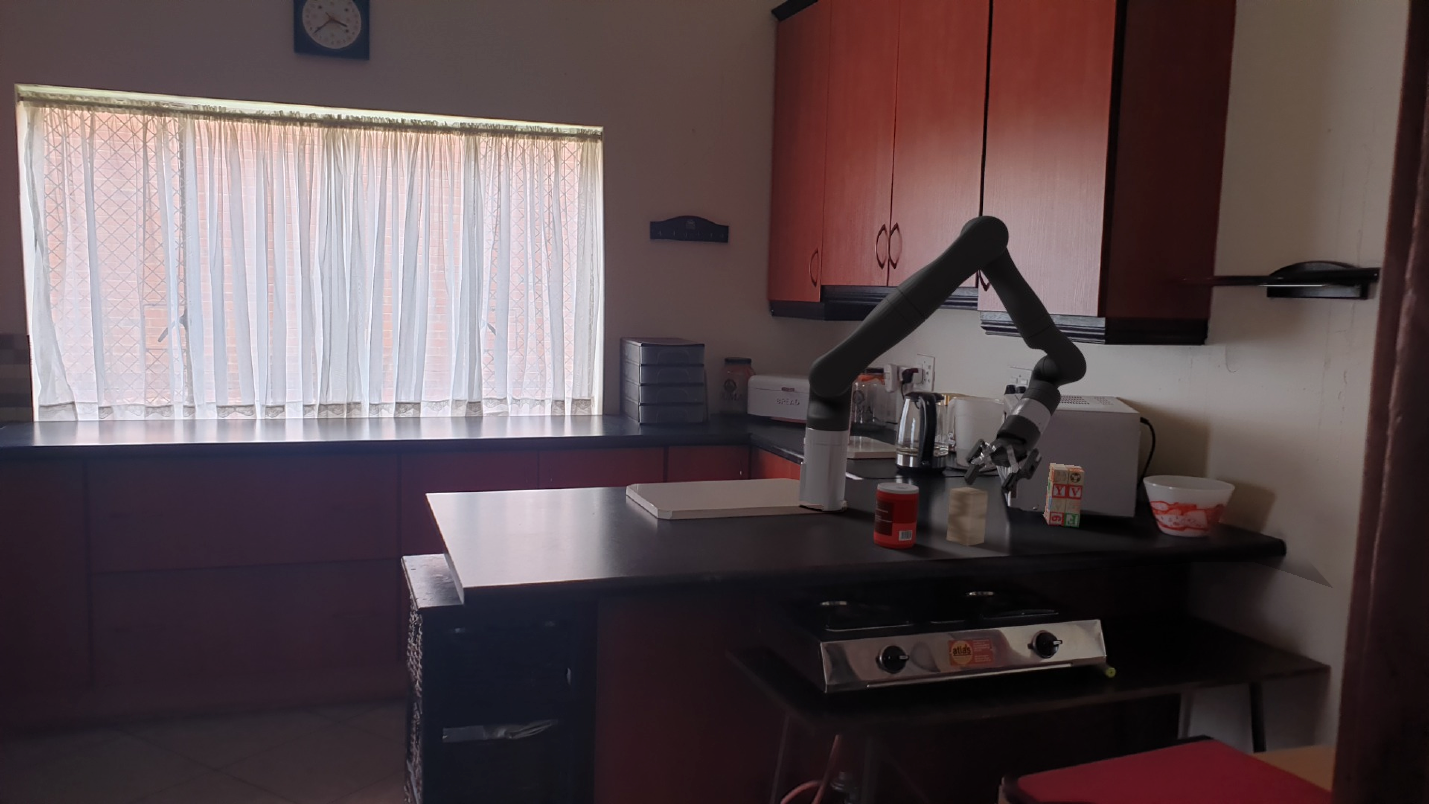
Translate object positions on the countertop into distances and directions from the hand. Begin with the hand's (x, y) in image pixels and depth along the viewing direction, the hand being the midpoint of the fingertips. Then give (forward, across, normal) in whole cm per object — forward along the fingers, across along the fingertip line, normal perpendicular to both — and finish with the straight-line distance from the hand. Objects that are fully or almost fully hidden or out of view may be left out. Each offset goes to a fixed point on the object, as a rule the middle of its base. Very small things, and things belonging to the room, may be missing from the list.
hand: (985, 486), depth 194 cm
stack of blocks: (-17, -4, +32) cm, 36 cm away
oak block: (+11, 0, +4) cm, 11 cm away
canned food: (+21, -5, -7) cm, 23 cm away
